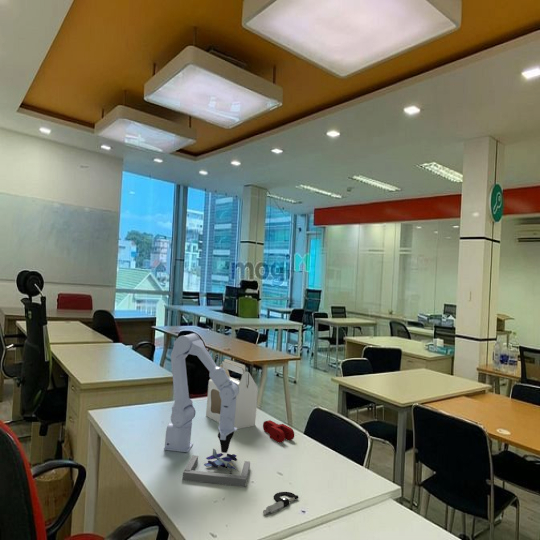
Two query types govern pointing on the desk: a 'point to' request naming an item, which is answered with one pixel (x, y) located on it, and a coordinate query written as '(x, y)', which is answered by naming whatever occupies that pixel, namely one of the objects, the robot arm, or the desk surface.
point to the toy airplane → (221, 461)
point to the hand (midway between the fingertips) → (224, 451)
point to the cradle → (215, 475)
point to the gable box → (244, 399)
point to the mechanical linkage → (278, 431)
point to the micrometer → (280, 502)
